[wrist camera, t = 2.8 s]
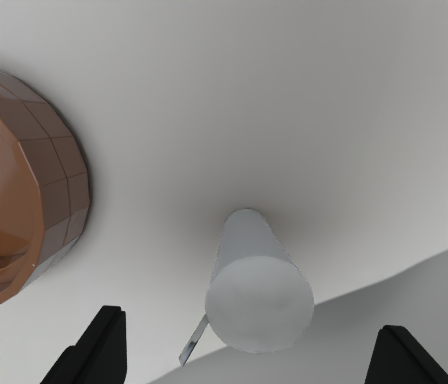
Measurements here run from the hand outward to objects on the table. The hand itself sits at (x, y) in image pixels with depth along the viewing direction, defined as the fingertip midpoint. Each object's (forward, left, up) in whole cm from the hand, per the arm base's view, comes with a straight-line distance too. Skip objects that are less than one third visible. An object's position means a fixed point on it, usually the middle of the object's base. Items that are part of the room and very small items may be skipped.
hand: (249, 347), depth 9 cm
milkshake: (0, 0, -10) cm, 10 cm away
